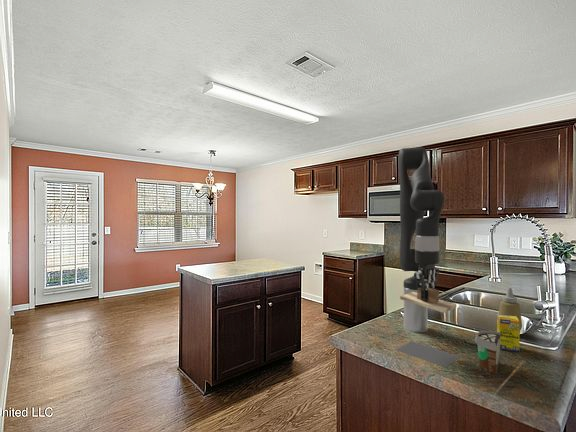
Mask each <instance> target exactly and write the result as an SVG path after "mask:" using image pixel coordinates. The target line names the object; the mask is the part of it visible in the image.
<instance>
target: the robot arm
mask: <svg viewBox="0 0 576 432" xmlns="http://www.w3.org/2000/svg"><path fill="white" fill-rule="evenodd" d="M397 160H398V161H397V162H398V176H399V217H400V218H399V219H400V223H399V224H400V239H399V240H400V242H399V260H398V261H399V266H400V268H401V270H402V271H404V272H414V273H413V275H412V276H411V277H407V278H405V279H404V281H403V295H405V294H408V293H411V292H415V293H417V292H418V288H420V289H421V300H422V301H428V287H429V288H433V289H435V286H437V283H438V278H439V273H440V269H439V268H437V267H436V265H438V264H439V263H440V238H439V223H440V218H441V214H442V210H443V208H444V204H445V200H446V199H445V195H444V192H442V191H441V190H439V189H435V185H434V183H433V179H432V176H431V173H430V163H429V155H428V152H427V150H426V148H425V147H421V146H420V147H419V146H418V147H417V146H416V147H403V148H401V149H399V151H398V159H397ZM408 171H414V172H413V173H412V175H411V177H409V173H408ZM430 211H431V213H430V214H429V215H428V216H426V217H424V216H425V212H430ZM414 235H415V239H414V246H415V247H414V248H411V244H412V240H413V237H414ZM428 310H429V308H427V307H424V306H420V305H417V304H414V303H411V302H408V301H405V300H403V328H404V329H405V330H407V331H409V332H413V333H427V332H428V331H429V329H428V326H429V325H428V323H429V319H428V317H429V316H428V312H429V311H428Z"/></svg>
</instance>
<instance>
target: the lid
mask: <svg viewBox="0 0 576 432" xmlns="http://www.w3.org/2000/svg"><path fill="white" fill-rule="evenodd" d="M439 298H440V290H439V289H436V288H429V287H428V301H422V300H421V289H420V288H418V292H417V293H415V292H411V293H408V294H405V295H404V294H403V295H400V296H399V299H400V300H402V301H404V300H405V301H408V302H411V303H414V304H417V305H420V306H424V307H427V308H428V309H430V310H432V311H436V312H439V313H444V314H445V313H447V312H450V311H452V310H454V309H455V308H457V304H456V303H454V302H450V301H446V300H443V299H439Z"/></svg>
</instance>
